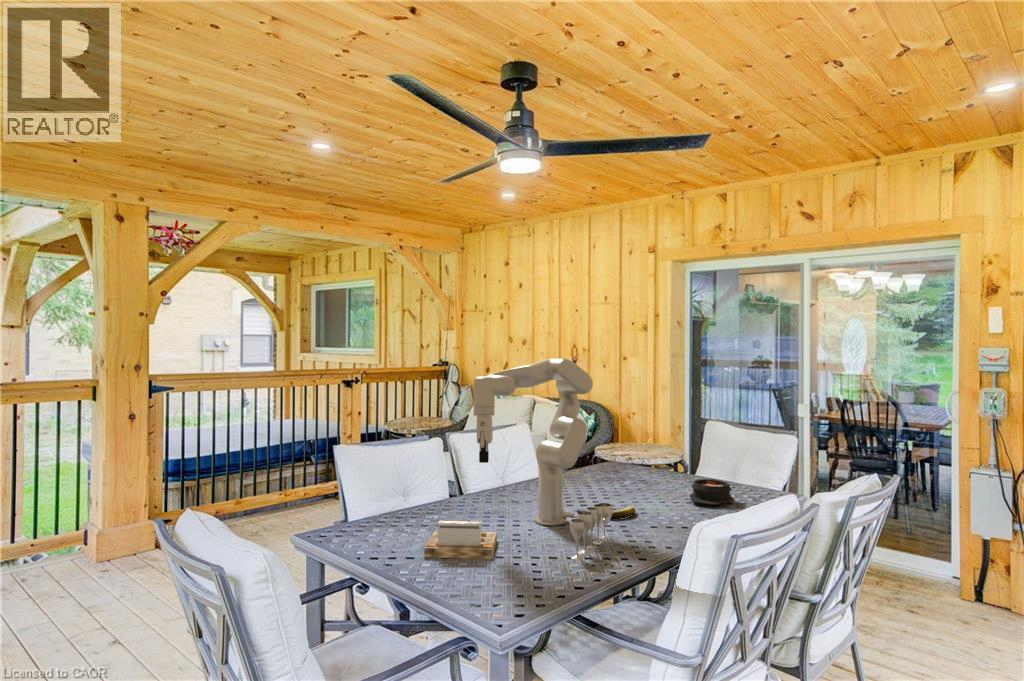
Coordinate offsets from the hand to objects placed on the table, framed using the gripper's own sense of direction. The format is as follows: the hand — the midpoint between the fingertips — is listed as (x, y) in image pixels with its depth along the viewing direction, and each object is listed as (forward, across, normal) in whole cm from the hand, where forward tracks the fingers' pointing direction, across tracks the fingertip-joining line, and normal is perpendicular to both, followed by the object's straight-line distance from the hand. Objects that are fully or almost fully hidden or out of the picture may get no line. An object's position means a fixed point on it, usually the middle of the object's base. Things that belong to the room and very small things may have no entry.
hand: (483, 462), depth 212 cm
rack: (+27, -12, +6) cm, 30 cm away
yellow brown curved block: (+28, +32, -53) cm, 68 cm away
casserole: (+28, +57, -96) cm, 115 cm away
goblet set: (+27, -7, -38) cm, 47 cm away
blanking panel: (+26, -18, +6) cm, 32 cm away
